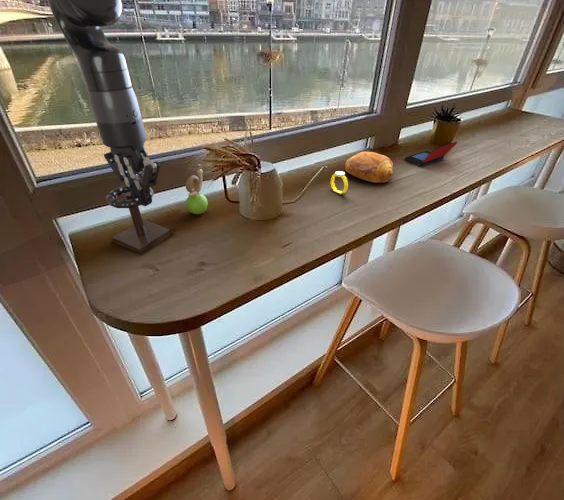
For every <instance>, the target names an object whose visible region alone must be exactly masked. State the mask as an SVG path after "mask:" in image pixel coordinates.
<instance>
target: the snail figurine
mask: <svg viewBox="0 0 564 500" xmlns="http://www.w3.org/2000/svg"><path fill="white" fill-rule="evenodd" d="M197 167H198V169H197V170H196V171H197V172H196V173H197V175H195V174H192V175H190V176H188V178H187V179H186V181H185V190H186V191H187V192H188V194H187V195H188V197H187V198H186V200H185V205H186V208H187V210H188V212H190V213H191V214H193V215H202V214H203V213H205V212H206V211H207V210H208V207H209V201H208V198H207V197H206V196H205V195H204V194H202V193H200V191H201V190H202V188H203V179H204V178H203V172H204V171H203V168H202V167H203V165H202V164H200V163H197Z"/></svg>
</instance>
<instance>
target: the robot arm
mask: <svg viewBox="0 0 564 500" xmlns="http://www.w3.org/2000/svg"><path fill="white" fill-rule="evenodd" d="M47 3H48V6H49V8H50V11H51V14H52V16H53V17H54V20H55V21H56V25H58V27H59V29H60V32H61V33H62V35H63V37H64V39H65V41H66V42H67V44H68V46H69V48H70V49H71V51H72V52H73V54H74V55H75V57H76V60H77V62H78V65H79V69H80V72H81V75H82V78H83V81H84V84H85V87H86V89H87V93H88V94H87V95H88V100H89V105H90V108H91V110H92V114H93V116H94V120H95V124H96V126H97V129H98V132H99V136H100V139H101V141H102V144H103V145H104V146H105V147H107V148H109V150H110V151H109V152H107V153H104V154H103V157H104V159H105V161H106V162H107V164H108V166H109V167H110V168H111V170H112V171H113V172H114V174H115V176H116V177H117V179H118V181H119V182H121V183H123V182H124V183H125V185H127V186H128V187H129V189H130V192H131V196H132V198H133V199H135V198H138V197H139V198H140V202H141V205H140V206H142V207H147V206H149V205H151V204H152V203H153V197H151V193H150V190H149V187H151V188H152V187H155V186H156V185H157V181H158V176H159V172H160V168H161V164H160V163H159V161H156V160H155V161H152V160H151V159H150V158H149V154H148V152H147V150H146V148H145V142H146V141H147V140H148V139H147V138H148V137H147V132H146V127H145V125H144V121H143V116H142V113H141V108H140V105H139V101H138V98H137V95H136V93H135V90H134V87H133V82H132V78H131V75H130V70H129V67H128V62H127V59H126V56H125V54H124V52H123V51H122V50H121V48H119V47H118V46H115V45H114V44H112V43H111V42H109V41H108V38H107V37H106V35H105V32H104V31H103V29H102V28H106V27H110V26H113V25H115V24H116V23H118V21H119V20H120V19H121V17H122V13H123V1H122V0H47ZM141 179H142V181H141Z"/></svg>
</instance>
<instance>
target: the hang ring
mask: <svg viewBox="0 0 564 500" xmlns="http://www.w3.org/2000/svg"><path fill="white" fill-rule="evenodd" d="M149 190H150V193H151V197H152V198H153V197H154V195H155V192H154V190H153V189H152V187H149ZM127 192H130V189H129V187H128V186H127V185H126V184H125V185H121V186H118V187H115V188H114V189H112V190H110V192H109V193H108V194H107V195H106V196H105V200H106V204H107V205H108V206H110V207H112V208H116V209H129V208H132V207H136V206H138V207H140V206H142V205H141V202H140V198H139V197H138V198H135V199H131V200H126V199H117V198H118V197H120V196H122V195H124V194H125V193H127Z"/></svg>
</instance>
